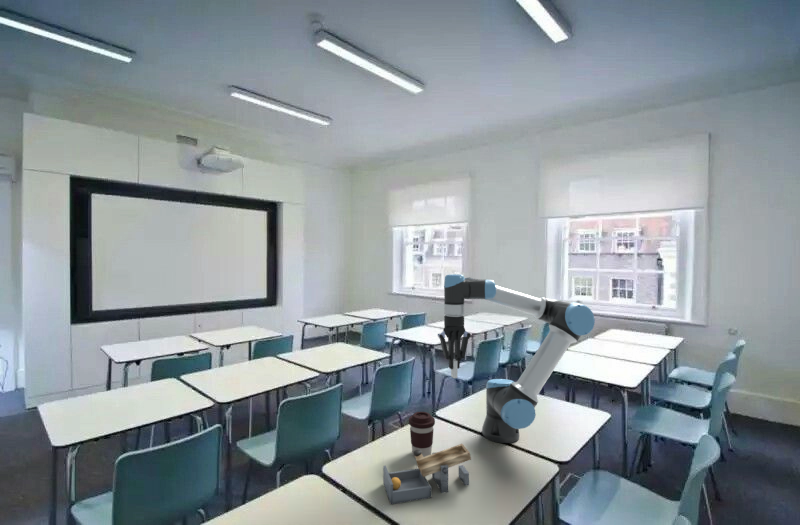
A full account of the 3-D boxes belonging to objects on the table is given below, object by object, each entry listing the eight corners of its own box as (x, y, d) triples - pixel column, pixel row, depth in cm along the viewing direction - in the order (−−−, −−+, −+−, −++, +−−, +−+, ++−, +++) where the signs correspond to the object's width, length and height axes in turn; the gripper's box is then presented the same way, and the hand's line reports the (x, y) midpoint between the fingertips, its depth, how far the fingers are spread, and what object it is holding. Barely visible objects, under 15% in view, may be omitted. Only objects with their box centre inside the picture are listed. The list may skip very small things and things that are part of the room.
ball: (401, 477, 122) (392, 473, 122) (404, 484, 119) (395, 479, 118) (395, 487, 122) (386, 482, 121) (397, 494, 119) (389, 489, 118)
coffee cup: (433, 462, 137) (433, 421, 137) (406, 459, 139) (406, 419, 139) (436, 449, 147) (436, 410, 147) (411, 446, 149) (411, 408, 149)
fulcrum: (438, 475, 129) (438, 451, 129) (449, 493, 119) (448, 466, 119) (431, 476, 128) (431, 452, 128) (441, 494, 119) (441, 467, 119)
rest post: (462, 476, 128) (462, 465, 128) (469, 484, 124) (469, 473, 124) (458, 477, 128) (458, 465, 128) (464, 485, 123) (464, 473, 123)
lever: (455, 440, 136) (453, 433, 136) (471, 459, 123) (469, 452, 123) (411, 455, 132) (410, 448, 132) (423, 477, 119) (421, 469, 119)
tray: (421, 478, 127) (421, 460, 127) (431, 497, 117) (431, 478, 117) (383, 483, 124) (383, 465, 124) (390, 504, 114) (390, 484, 114)
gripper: (466, 313, 148) (466, 373, 148) (434, 314, 145) (434, 375, 145) (474, 315, 141) (474, 378, 141) (441, 317, 138) (441, 381, 138)
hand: (454, 377), depth 143 cm, fingers closed
